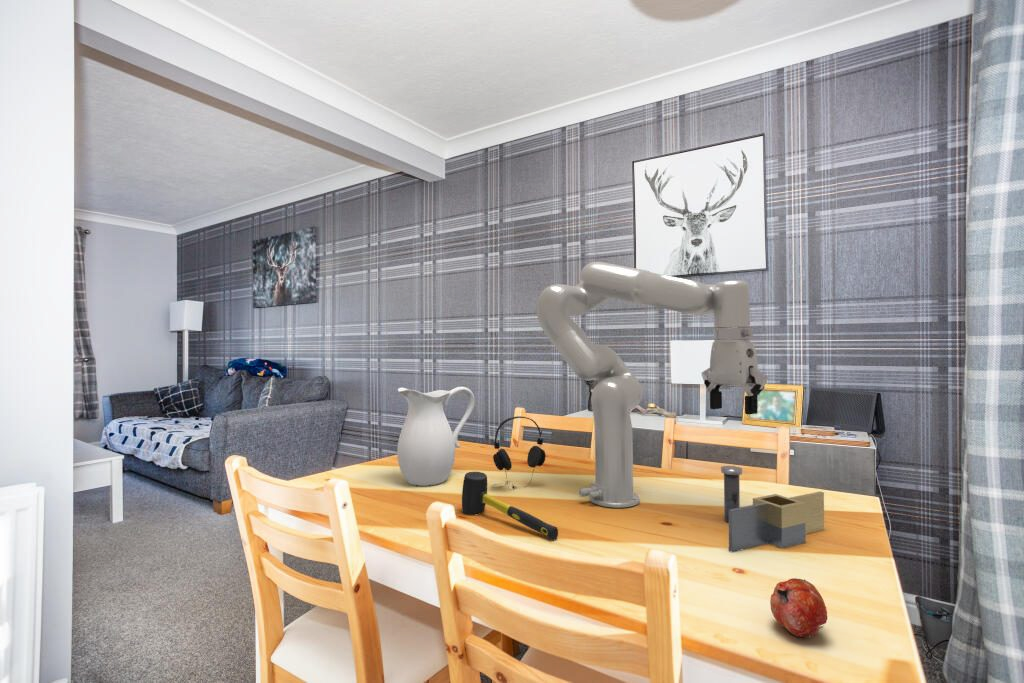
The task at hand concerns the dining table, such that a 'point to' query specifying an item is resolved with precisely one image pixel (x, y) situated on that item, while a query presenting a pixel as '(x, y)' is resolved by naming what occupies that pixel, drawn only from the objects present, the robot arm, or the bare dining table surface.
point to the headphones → (534, 455)
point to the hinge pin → (731, 489)
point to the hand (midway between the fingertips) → (733, 411)
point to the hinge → (776, 521)
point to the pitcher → (429, 436)
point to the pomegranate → (798, 607)
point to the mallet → (497, 504)
